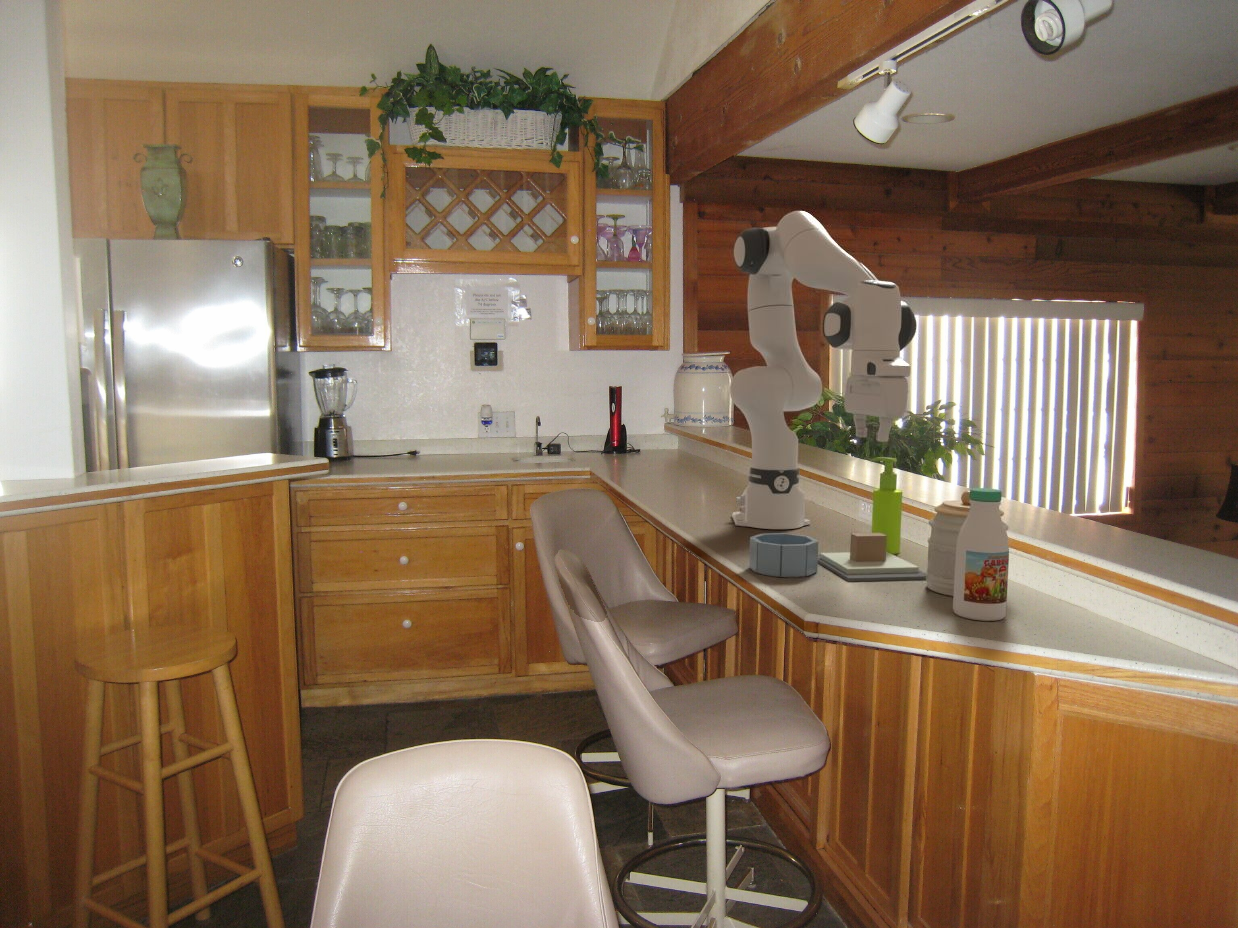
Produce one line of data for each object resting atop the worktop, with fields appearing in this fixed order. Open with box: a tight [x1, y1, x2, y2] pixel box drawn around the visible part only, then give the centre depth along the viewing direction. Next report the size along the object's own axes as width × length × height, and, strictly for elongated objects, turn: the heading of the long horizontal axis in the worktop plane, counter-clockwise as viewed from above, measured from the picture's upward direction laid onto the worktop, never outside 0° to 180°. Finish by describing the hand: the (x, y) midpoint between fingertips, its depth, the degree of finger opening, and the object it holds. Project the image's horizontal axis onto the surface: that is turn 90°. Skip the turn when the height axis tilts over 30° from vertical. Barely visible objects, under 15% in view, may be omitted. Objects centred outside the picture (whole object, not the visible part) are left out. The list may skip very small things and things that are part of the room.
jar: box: [925, 490, 1009, 597], centre depth 151 cm, size 13×13×18 cm
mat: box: [818, 554, 926, 582], centre depth 168 cm, size 20×16×1 cm
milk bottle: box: [952, 487, 1010, 622], centre depth 135 cm, size 8×8×20 cm
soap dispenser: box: [869, 456, 903, 555], centre depth 183 cm, size 6×7×20 cm
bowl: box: [748, 532, 819, 578], centre depth 166 cm, size 12×12×6 cm
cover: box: [819, 532, 920, 574], centre depth 168 cm, size 14×14×6 cm
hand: (871, 439), depth 166 cm, fingers open, 8 cm apart
